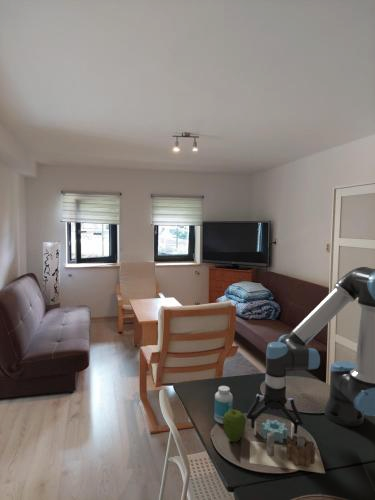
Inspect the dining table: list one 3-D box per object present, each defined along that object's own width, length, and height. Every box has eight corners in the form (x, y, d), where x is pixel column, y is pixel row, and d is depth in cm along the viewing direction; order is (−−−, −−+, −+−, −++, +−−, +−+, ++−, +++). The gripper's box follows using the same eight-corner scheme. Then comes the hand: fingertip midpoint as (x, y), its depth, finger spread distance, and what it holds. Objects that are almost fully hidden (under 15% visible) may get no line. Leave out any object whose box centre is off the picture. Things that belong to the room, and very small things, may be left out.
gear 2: (311, 451, 122) (312, 437, 121) (316, 468, 113) (317, 454, 112) (285, 447, 123) (286, 434, 123) (288, 464, 114) (288, 450, 114)
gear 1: (282, 431, 135) (283, 419, 135) (289, 446, 126) (289, 433, 126) (259, 431, 135) (260, 419, 135) (264, 446, 126) (265, 433, 126)
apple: (229, 449, 124) (230, 419, 123) (218, 436, 132) (218, 407, 131) (249, 444, 128) (250, 414, 127) (237, 431, 135) (238, 403, 134)
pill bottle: (231, 425, 139) (232, 393, 138) (213, 423, 140) (213, 391, 139) (232, 415, 146) (233, 385, 145) (215, 413, 148) (216, 383, 147)
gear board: (318, 453, 123) (319, 430, 122) (325, 477, 111) (326, 452, 110) (249, 444, 127) (250, 422, 127) (249, 467, 115) (250, 442, 115)
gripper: (308, 383, 131) (306, 436, 132) (242, 376, 135) (240, 428, 137) (312, 392, 123) (309, 449, 125) (241, 385, 128) (239, 439, 129)
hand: (273, 438), depth 131 cm, fingers open, 13 cm apart
